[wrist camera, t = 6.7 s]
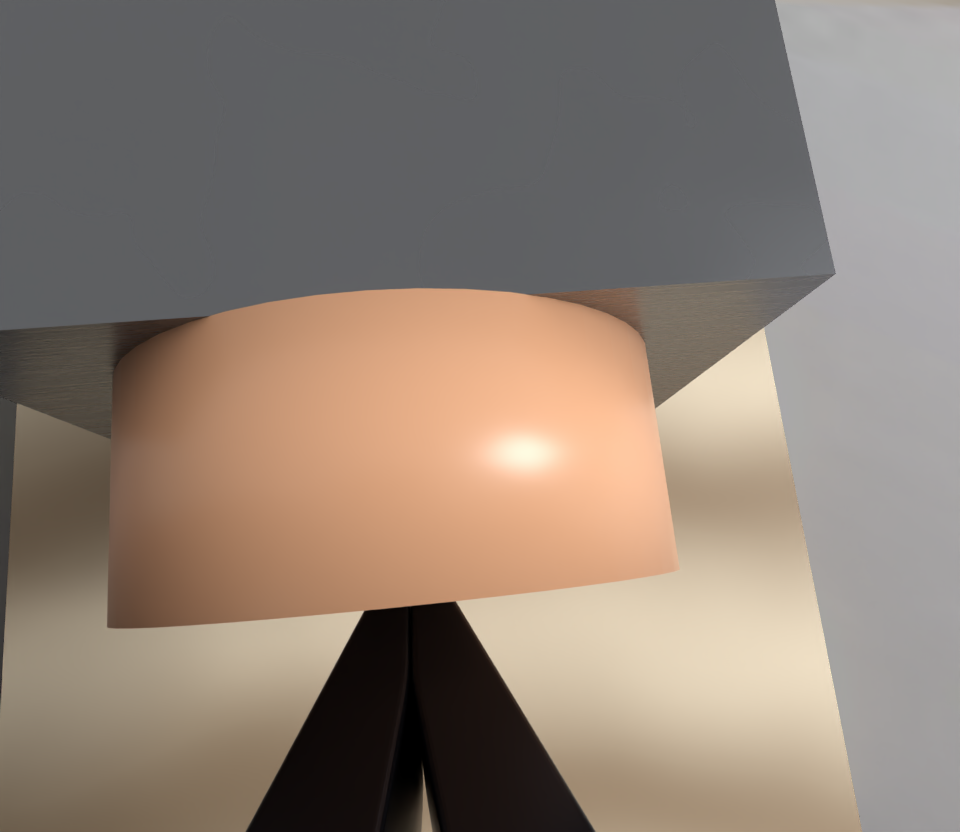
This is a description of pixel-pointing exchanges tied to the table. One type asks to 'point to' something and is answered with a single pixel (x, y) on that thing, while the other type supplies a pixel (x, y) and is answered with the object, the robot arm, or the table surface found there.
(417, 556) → the knob
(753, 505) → the birch board
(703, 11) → the knob housing
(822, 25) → the table surface
